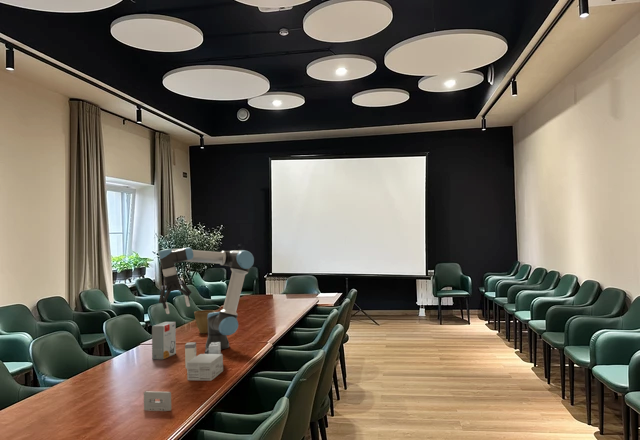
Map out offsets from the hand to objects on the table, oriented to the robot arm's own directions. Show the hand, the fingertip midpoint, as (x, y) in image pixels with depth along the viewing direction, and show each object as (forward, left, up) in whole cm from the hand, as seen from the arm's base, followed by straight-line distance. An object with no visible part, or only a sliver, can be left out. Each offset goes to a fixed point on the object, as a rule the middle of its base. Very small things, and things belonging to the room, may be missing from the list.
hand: (178, 310), depth 281 cm
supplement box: (+2, +39, -30) cm, 50 cm away
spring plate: (-6, +24, -30) cm, 38 cm away
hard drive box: (+3, -16, -30) cm, 34 cm away
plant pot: (-47, -66, -30) cm, 87 cm away
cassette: (+39, +72, -30) cm, 87 cm away
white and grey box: (-1, +20, -30) cm, 35 cm away
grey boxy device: (-8, +25, -30) cm, 39 cm away
